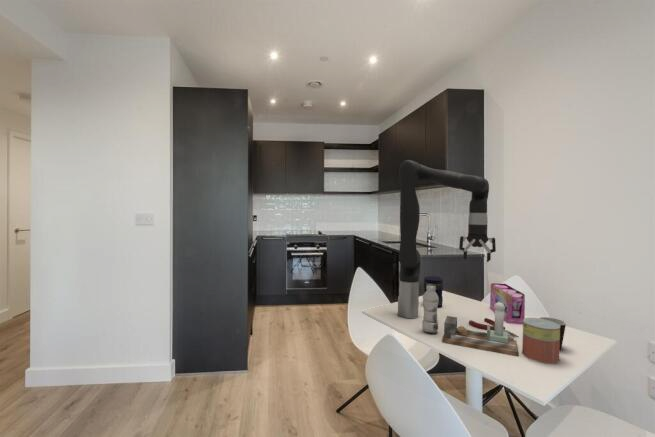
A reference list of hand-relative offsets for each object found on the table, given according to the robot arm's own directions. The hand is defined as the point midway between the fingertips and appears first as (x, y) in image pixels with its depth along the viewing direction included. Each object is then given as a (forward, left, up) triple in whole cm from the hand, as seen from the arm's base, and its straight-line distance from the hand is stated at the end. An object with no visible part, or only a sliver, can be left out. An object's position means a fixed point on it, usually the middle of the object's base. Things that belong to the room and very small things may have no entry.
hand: (476, 260), depth 141 cm
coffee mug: (+27, -4, -30) cm, 41 cm away
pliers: (+6, +3, -31) cm, 32 cm away
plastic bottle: (-17, -12, -30) cm, 37 cm away
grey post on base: (+8, -15, -28) cm, 33 cm away
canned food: (+22, -17, -30) cm, 41 cm away
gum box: (+13, +28, -30) cm, 43 cm away
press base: (+2, -15, -30) cm, 34 cm away
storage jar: (-22, +28, -30) cm, 47 cm away
